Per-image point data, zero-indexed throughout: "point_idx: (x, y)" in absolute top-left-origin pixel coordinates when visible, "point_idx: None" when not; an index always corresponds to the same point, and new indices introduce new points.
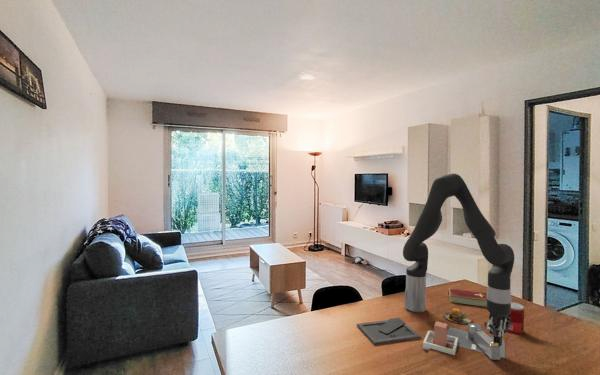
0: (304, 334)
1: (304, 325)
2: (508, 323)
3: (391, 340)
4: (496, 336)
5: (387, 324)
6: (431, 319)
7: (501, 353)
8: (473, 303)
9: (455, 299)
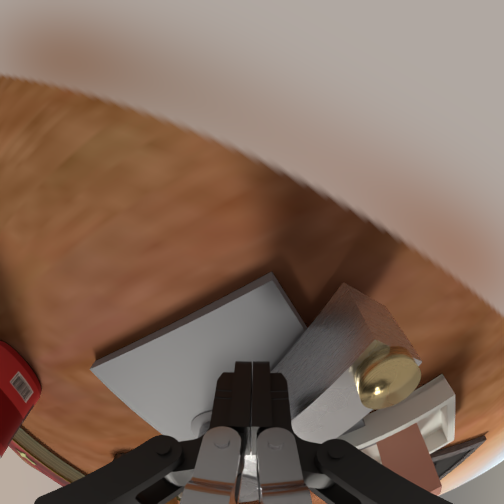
0: (497, 453)
1: (473, 472)
2: (91, 501)
3: (459, 448)
4: (341, 439)
5: None
6: None
7: (231, 323)
8: (50, 456)
9: None
